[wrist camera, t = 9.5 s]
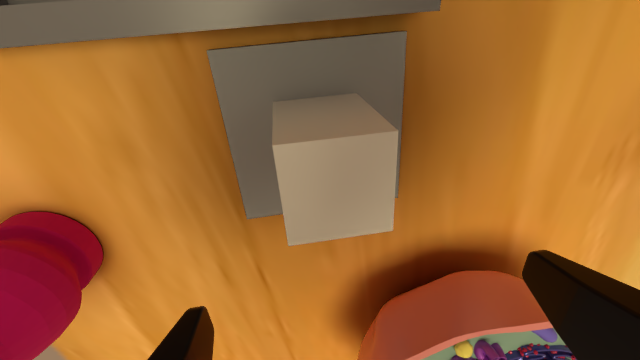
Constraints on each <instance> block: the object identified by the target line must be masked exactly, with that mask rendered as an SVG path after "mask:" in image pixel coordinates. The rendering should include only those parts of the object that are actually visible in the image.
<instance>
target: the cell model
mask: <svg viewBox="0 0 640 360" xmlns="http://www.w3.org/2000/svg"><path fill="white" fill-rule="evenodd" d="M357 360H577V359H576V358H575V356H574V355H573V354H572V352H571V351H570V350H569V349H568V347H567V346H566V345H565V343H564V342H563V341H562V339H561V338H560V336H559V335H558V334H557V332H556V331H555V329H554V328H553V326H552V325H551V323H550V322H549V320H548V318H547V317H546V315H545V314H544V312H543V310H542V309H541V307H540V306H539V304H538V303H537V301H536V299H535V298H534V296H533V295H532V293H531V291H530V290H529V288H528V287H527V285H526V283H525V282H524V280H523V279H521V278H518V277H516V276H513V275H510V274H507V273H503V272H498V271H473V270H465V271H459V272H454V273H451V274H448V275H446V276H444V277H441V278H439V279H437V280H435V281H432V282H430V283H428V284H425V285H422V286H420V287H417V288H415V289H412V290H410V291H408V292H406V293H403V294H400V295H397V296H395V297H393V298H391V299H390V300H389V301H388V302H386V303H385V304H384V305H383V306H382V307H381V309H380V311H379V312H378V314H377V315H376V317H375V318H374V320H373V322H372V324H371V325H370V327H369V329H368V331H367V332H366V334H365V336H364V339H363V341H362V344H361V347H360V350H359V354H358V359H357Z"/></svg>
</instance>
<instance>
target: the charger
mask: <svg viewBox="0 0 640 360" xmlns="http://www.w3.org/2000/svg"><path fill="white" fill-rule="evenodd" d="M272 147H273V154H274V160H275V166H276V172H277V179H278V185H279V191H280V197H281V203H282V210H283V216H284V222H285V228H286V235H287V241H288V246H293V245H300V244H307V243H313V242H320V241H327V240H334V239H341V238H347V237H354V236H361V235H368V234H375V233H381V232H388V231H393V221H394V203H395V185H396V167H397V148H398V130H397V129H396V128H395V127H394V126H393V125H391V124H390V123H389V122H388V121H387V120H386V119H385V118H384V117H382V116H381V115H380V114H379V113H378V112H377V111H376V110H375V109H373V108H372V107H371V106H370V105H369V104H368V103H367V102H366V101H364V100H363V99H362V98H361V97H360V96H359V95H358V94H357V93H352V94H343V95H334V96H324V97H315V98H305V99H296V100H286V101H277V102H273V125H272Z"/></svg>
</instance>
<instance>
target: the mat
mask: <svg viewBox="0 0 640 360" xmlns="http://www.w3.org/2000/svg"><path fill="white" fill-rule="evenodd" d="M406 37H407V31H396V32H386V33H376V34H365V35H355V36H345V37H334V38H324V39H314V40H303V41H293V42H283V43H272V44H262V45H252V46H241V47H231V48H221V49H210V50H207V55H208V59H209V63H210V67H211V71H212V75H213V79H214V84H215V88H216V92H217V96H218V100H219V104H220V109H221V113H222V117H223V121H224V125H225V129H226V133H227V138H228V142H229V146H230V150H231V154H232V158H233V162H234V167H235V171H236V175H237V179H238V183H239V187H240V192H241V196H242V200H243V204H244V208H245V212H246V216H247V219H252V218H259V217H266V216H273V215H280V214H283V210H282V203H281V197H280V191H279V185H278V179H277V172H276V166H275V160H274V154H273V147H272V125H273V102H277V101H286V100H296V99H305V98H315V97H324V96H334V95H343V94H352V93H357V94H358V95H359V96H360V97H361V98H362V99H363V100H364V101H366V102H367V103H368V104H369V105H370V106H371V107H372V108H373V109H375V110H376V111H377V112H378V113H379V114H380V115H381V116H382V117H384V118H385V119H386V120H387V121H388V122H389V123H390V124H391V125H393V126H394V127H395V128H396V129H397V130H398V148H397V167H396V185H395V198H398V186H399V167H400V148H401V130H402V111H403V93H404V74H405V55H406Z"/></svg>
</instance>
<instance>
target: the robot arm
mask: <svg viewBox="0 0 640 360" xmlns="http://www.w3.org/2000/svg"><path fill="white" fill-rule="evenodd" d="M522 277H523V280H524V282H525V283H526V285H527V287H528V288H529V290H530V291H531V293H532V295H533V296H534V298H535V299H536V301H537V303H538V304H539V306H540V307H541V309H542V310H543V312H544V314H545V315H546V317H547V318H548V320H549V322H550V323H551V325H552V326H553V328H554V329H555V331H556V332H557V334H558V335H559V336H560V338H561V339H562V341H563V342H564V343H565V345H566V346H567V347H568V349H569V350H570V351H571V352H572V354H573V355H574V356H575V358H576V359H577V360H640V290H638V289H636V288H634V287H631V286H629V285H627V284H624V283H622V282H620V281H617V280H615V279H613V278H610V277H608V276H606V275H603V274H601V273H599V272H596V271H594V270H592V269H589V268H587V267H585V266H583V265H580V264H578V263H576V262H573V261H571V260H569V259H566V258H564V257H562V256H559V255H557V254H555V253H552V252H550V251H547V250H539V251H533V252H530V253H529V254H528V256H527V259H526V262H525V265H524V268H523V271H522ZM213 343H214V327H213V324H212V321H211V319H210V316H209V314H208V311H207V309H206V307H204V306H200V307H194V308H189V309H188V310H187V311H186V312H185V313H184V314H183V316H182V317H181V318H180V319H179V321H178V322H177V323H176V324H175V326H174V327H173V328H172V329H171V331H170V332H169V333H168V334H167V336H166V337H165V338H164V339H163V341H162V342H161V343H160V345H159V346H158V347H157V348H156V350H155V351H154V352H153V353H152V355H151V356H150V357H149V358H148V360H212V356H213Z"/></svg>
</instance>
